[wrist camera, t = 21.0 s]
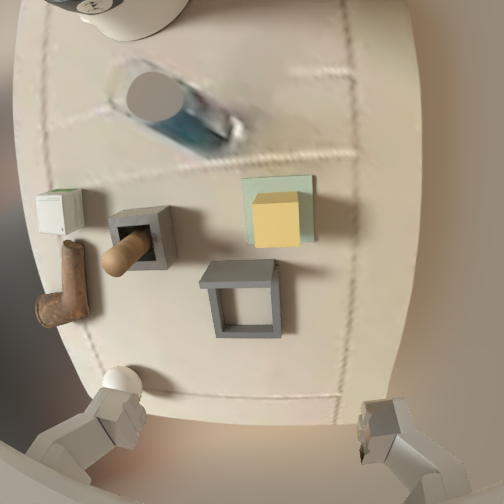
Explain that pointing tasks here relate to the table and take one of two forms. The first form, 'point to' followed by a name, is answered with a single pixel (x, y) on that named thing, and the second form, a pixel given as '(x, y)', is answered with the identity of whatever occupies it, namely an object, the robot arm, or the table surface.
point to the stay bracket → (160, 233)
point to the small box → (60, 211)
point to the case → (243, 277)
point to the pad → (282, 185)
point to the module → (276, 219)
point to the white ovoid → (123, 380)
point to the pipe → (66, 291)
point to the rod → (127, 251)
